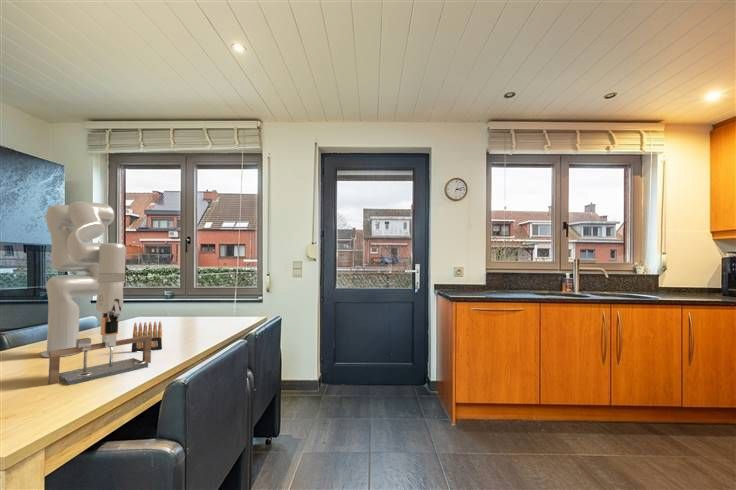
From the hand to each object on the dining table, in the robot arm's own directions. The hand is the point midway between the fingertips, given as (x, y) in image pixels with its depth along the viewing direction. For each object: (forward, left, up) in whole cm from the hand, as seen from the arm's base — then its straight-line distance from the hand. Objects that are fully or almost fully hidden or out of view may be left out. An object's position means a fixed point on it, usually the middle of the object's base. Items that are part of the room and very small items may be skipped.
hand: (109, 332), depth 117 cm
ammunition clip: (-19, +20, -14) cm, 31 cm away
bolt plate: (0, -1, -13) cm, 13 cm away
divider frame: (0, -1, -13) cm, 13 cm away
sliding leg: (+1, 0, -11) cm, 11 cm away
